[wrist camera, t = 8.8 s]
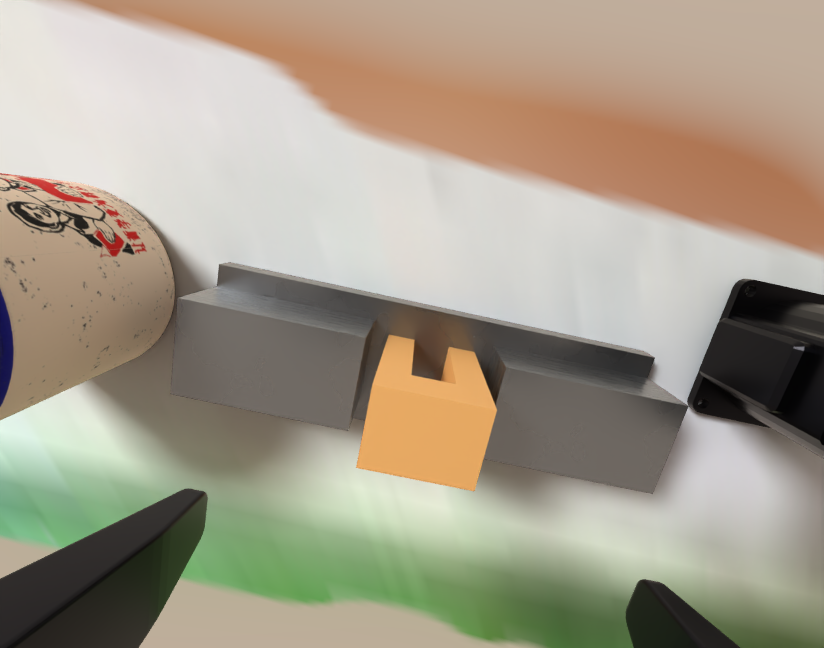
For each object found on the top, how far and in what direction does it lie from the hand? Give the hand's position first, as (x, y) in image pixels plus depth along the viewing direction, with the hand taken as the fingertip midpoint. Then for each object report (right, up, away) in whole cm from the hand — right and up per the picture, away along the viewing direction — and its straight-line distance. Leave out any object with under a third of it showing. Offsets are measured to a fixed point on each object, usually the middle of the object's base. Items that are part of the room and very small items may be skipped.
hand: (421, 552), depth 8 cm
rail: (0, +3, +12) cm, 12 cm away
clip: (0, +2, +11) cm, 11 cm away
